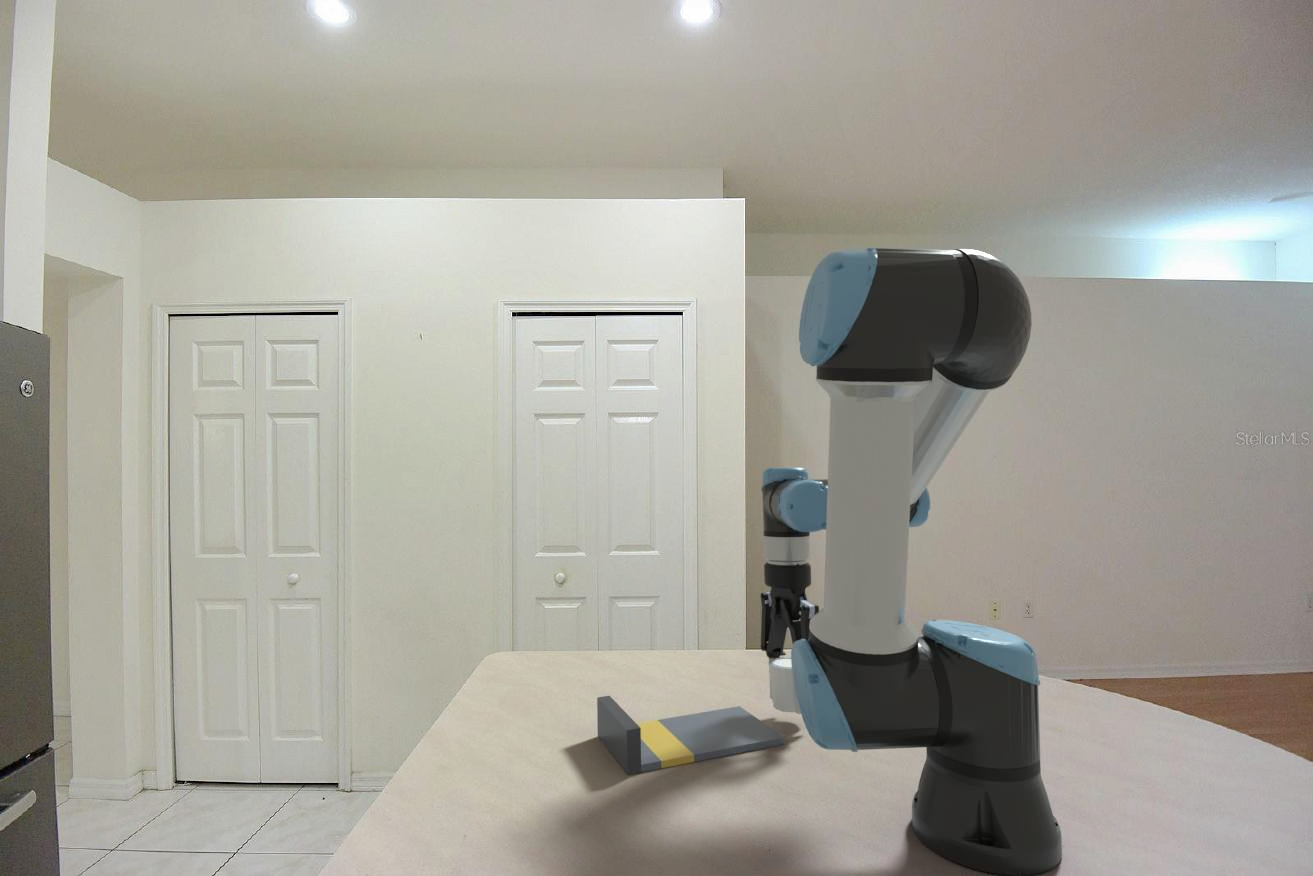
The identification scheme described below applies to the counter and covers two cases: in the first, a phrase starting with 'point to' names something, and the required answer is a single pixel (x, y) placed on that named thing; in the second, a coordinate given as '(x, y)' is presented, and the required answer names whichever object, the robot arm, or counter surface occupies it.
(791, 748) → the counter surface
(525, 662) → the counter surface
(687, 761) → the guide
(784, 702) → the shot glass
